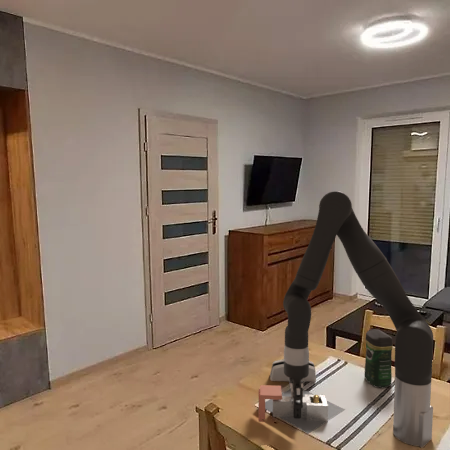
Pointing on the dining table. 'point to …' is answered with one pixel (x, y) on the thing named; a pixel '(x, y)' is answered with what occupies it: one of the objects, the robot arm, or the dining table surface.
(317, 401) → the knob
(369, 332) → the coffee jar
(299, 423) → the board
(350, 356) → the dining table surface
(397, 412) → the robot arm
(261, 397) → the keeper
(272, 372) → the grey arched slotted block
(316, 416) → the grey long bar
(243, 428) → the dining table surface
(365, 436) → the dining table surface
